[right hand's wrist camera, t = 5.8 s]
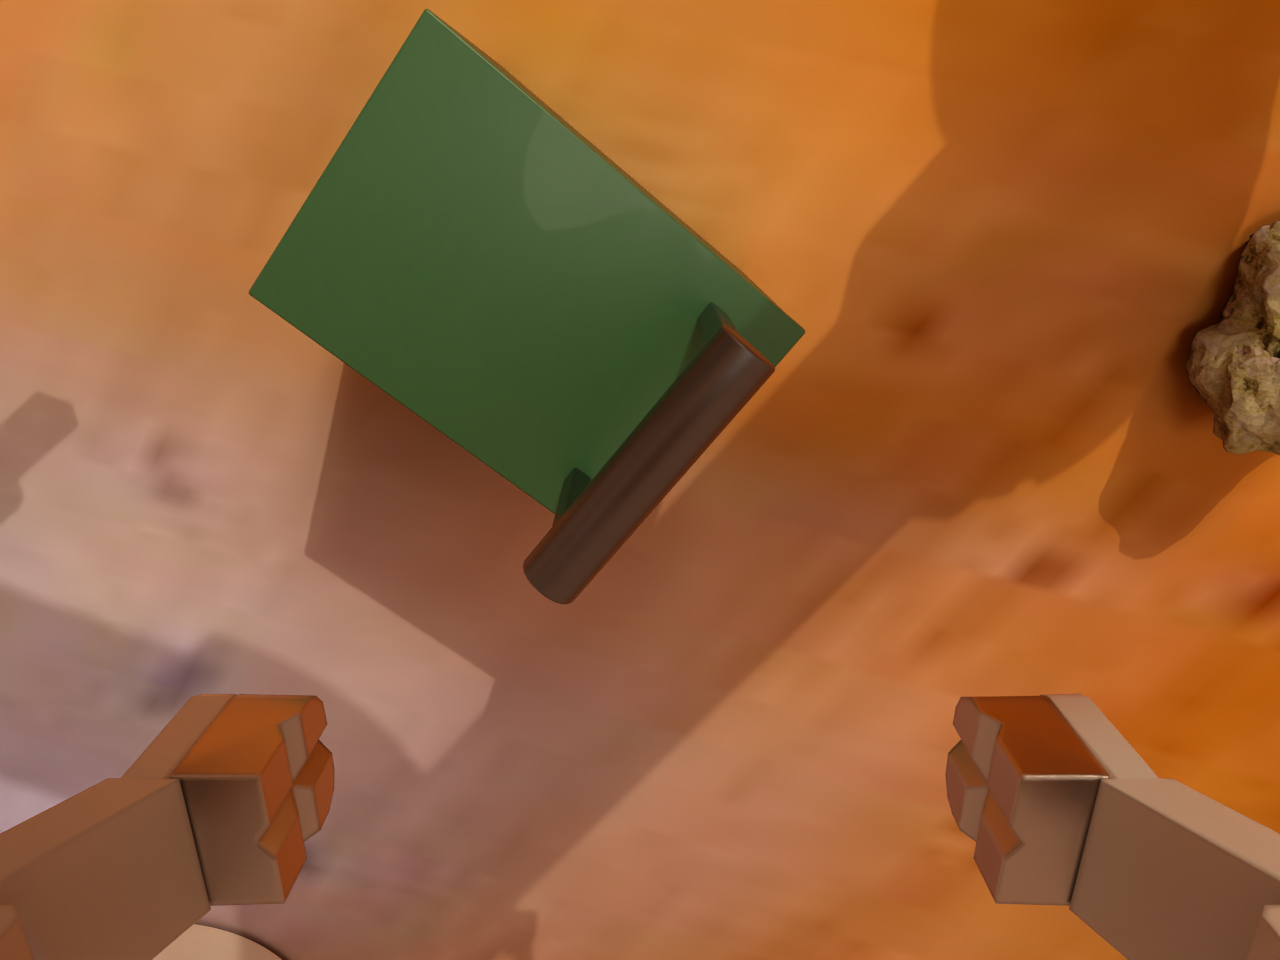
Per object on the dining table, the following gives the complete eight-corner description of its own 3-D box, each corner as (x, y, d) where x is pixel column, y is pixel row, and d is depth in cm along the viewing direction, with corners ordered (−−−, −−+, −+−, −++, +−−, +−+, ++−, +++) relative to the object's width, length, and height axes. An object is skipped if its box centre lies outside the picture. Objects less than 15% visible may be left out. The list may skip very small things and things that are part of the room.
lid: (801, 326, 26) (868, 390, 18) (612, 543, 29) (601, 678, 21) (434, 13, 23) (330, -68, 15) (260, 289, 26) (97, 338, 18)
